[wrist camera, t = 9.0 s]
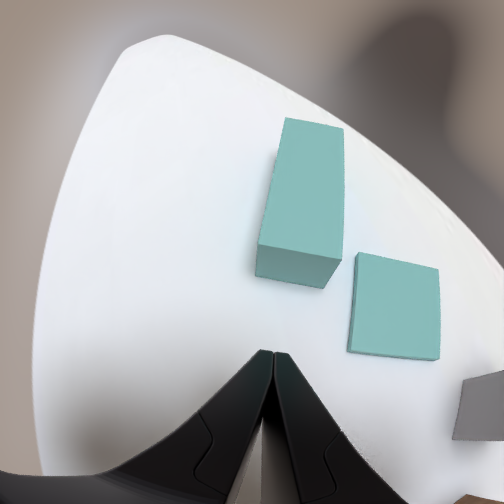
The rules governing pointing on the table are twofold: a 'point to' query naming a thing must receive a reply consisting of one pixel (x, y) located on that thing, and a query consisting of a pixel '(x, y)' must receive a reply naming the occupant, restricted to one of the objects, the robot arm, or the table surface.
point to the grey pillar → (481, 409)
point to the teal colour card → (395, 309)
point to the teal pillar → (304, 206)
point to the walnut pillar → (476, 500)
